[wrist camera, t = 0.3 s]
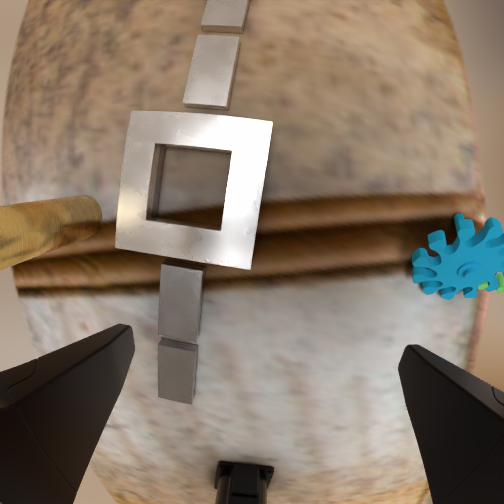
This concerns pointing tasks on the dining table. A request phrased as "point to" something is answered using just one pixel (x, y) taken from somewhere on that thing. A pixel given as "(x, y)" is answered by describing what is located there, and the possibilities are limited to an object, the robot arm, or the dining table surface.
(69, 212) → the pin
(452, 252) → the gear
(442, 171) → the dining table surface
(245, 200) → the square frame with tiles
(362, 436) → the dining table surface
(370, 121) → the dining table surface
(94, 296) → the dining table surface
